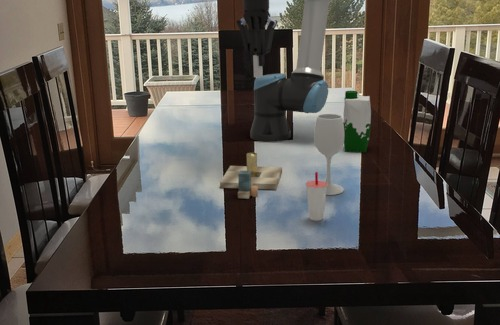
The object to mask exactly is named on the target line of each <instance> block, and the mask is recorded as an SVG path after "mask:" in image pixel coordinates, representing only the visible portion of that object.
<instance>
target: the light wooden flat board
mask: <svg viewBox="0 0 500 325" xmlns="http://www.w3.org/2000/svg"><path fill="white" fill-rule="evenodd" d="M282 173H283V167H282V166H257V177H251V171H247V165H246V166H245V165H229V167H228V169H227V170H226V172H225V173H224V175H223V176H222V178H221V180H220V182H219V188H221V189H238V192H237V198H238V199H247V200H248V199H250V197H251V196H250V186H258V190H275V191H277V188H278V185H279V182H280V181H281V177H282V175H283V174H282Z"/></svg>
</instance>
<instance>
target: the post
mask: <svg viewBox="0 0 500 325" xmlns="http://www.w3.org/2000/svg"><path fill="white" fill-rule="evenodd" d="M246 166H247V171H251V177H257V167H258V153H257V152H247V153H246Z"/></svg>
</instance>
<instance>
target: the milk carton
mask: <svg viewBox="0 0 500 325" xmlns="http://www.w3.org/2000/svg"><path fill="white" fill-rule="evenodd" d="M344 92H345V93H344V95H345V96H344V106H343V107H344V108H343V117H342V119H343V124H344V144H343V147H344V152H345V153H365V154H366V153H367V149H368V146H369V143H370V142H369V141H370V138H371V137H370V136H371V120H372V117H371V116H372V109H371V98H370V97H371V96H370V95H367V96H366V95H358V91H357V90H345V91H344Z"/></svg>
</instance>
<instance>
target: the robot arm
mask: <svg viewBox="0 0 500 325" xmlns="http://www.w3.org/2000/svg"><path fill="white" fill-rule="evenodd" d="M303 1H304V5H303V13H302V19H301V20H302V21H301V27H300V28H301V29H300V37H299V38H300V39H299V46H298V54H297V61H296V67H295V69H294V70H293V71H292V72H291V75H290V78H287V75H286V73H270V74H265V75H263V74H264V73H263V66H265V61H266V60H265V55H266V54H269V53H270V52H271V50H272V49H271V48H272V43H273V37H274V33H275V28H276V26H277V25H278V20H276V19H275V20H274V19H273V18H272V17H271V14H270V0H242V3H243V4H242V5H243V10H244V12H243V15H242V18H241V19H237V20H236V25H237V27H238V28H239V30H240V36H241V39H242V44H243V48H244V52H245V53H248V54H249V55H250V65H251V66H253V78H255V79H254V82H253V83H254V84H253V99H254V100H253V101H254V102H253V104H254V119H253V121H252V125H251V128H250V131H249V133H250V134H249V136H250V139H252V140H254V141H258V142H269V143H270V142H271V143H274V142H282V141H283V142H284V141H286V140H288V139H290V138H291V137H292V134H291V132H292V131H291V128H290V124H289V121H288V118H287V112H293V113H294V112H296V113H305V114H317V113H319V112H321V111H322V110H323V108H324V106H326V103H327V100H328V99H327V98H328V97H329V85H328V82H327V81H326V80H325V76H324V74H323V72H321V71H322V70H321V69H322V60H323V53H324V45H325V37H326V31H327V30H326V29H327V22H328V14H329V8H330V7H329V5H330V3H332V2H333V1H334V0H303ZM266 25H267V27H266Z"/></svg>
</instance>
